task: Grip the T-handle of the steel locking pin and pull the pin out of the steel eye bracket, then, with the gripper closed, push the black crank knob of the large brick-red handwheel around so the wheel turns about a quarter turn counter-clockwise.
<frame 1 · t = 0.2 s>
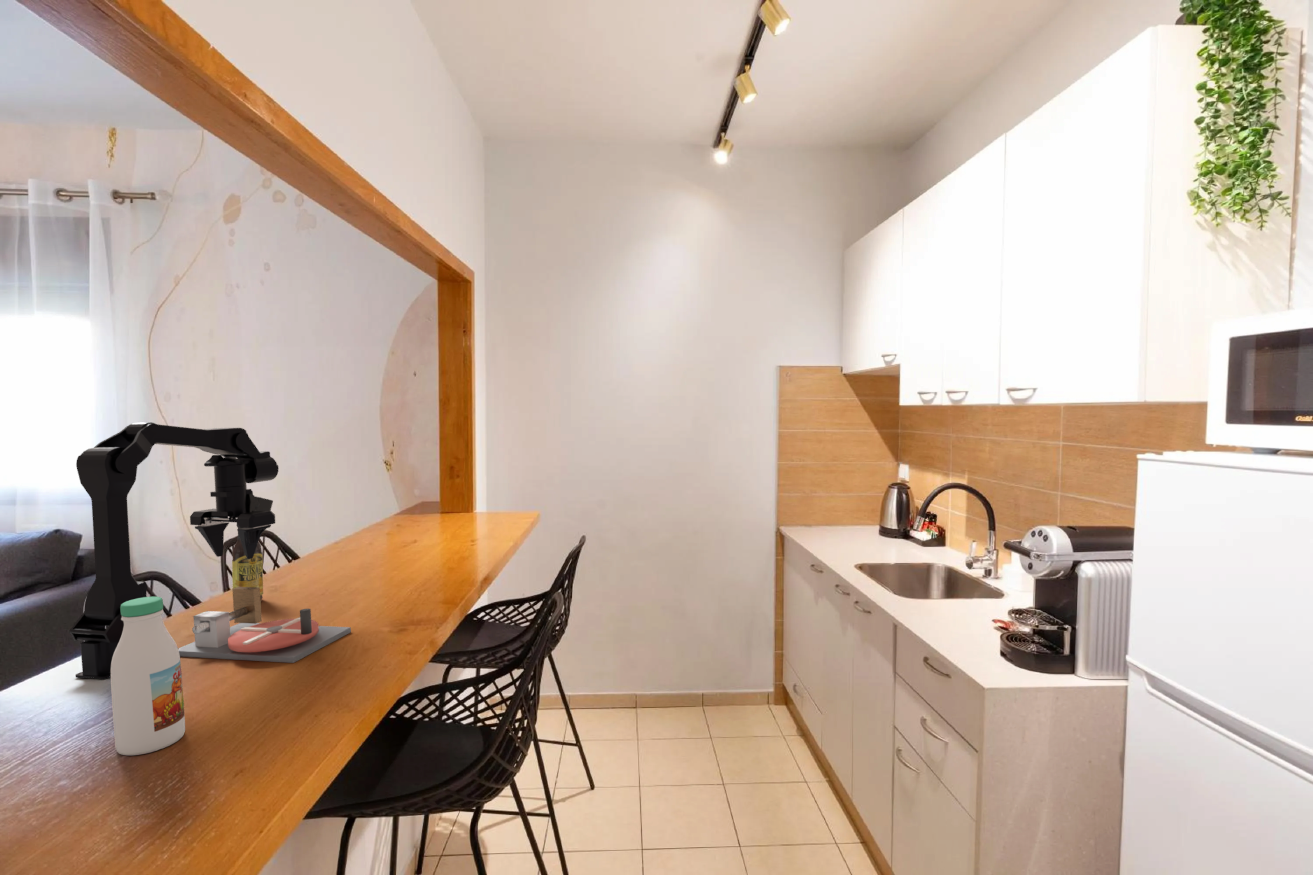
hand: (234, 557, 143), 14 cm above the table, tool pointing down, fingers open, 9 cm apart
handwheel: (274, 623, 126), point 5 cm above the table, hinge at 0.0°
sauce bottle: (249, 603, 158), on the table
mounting plate: (265, 643, 129), on the table
locking pin: (224, 613, 129), point 6 cm above the table, slide at 0.0 cm
milk bottle: (151, 743, 91), on the table
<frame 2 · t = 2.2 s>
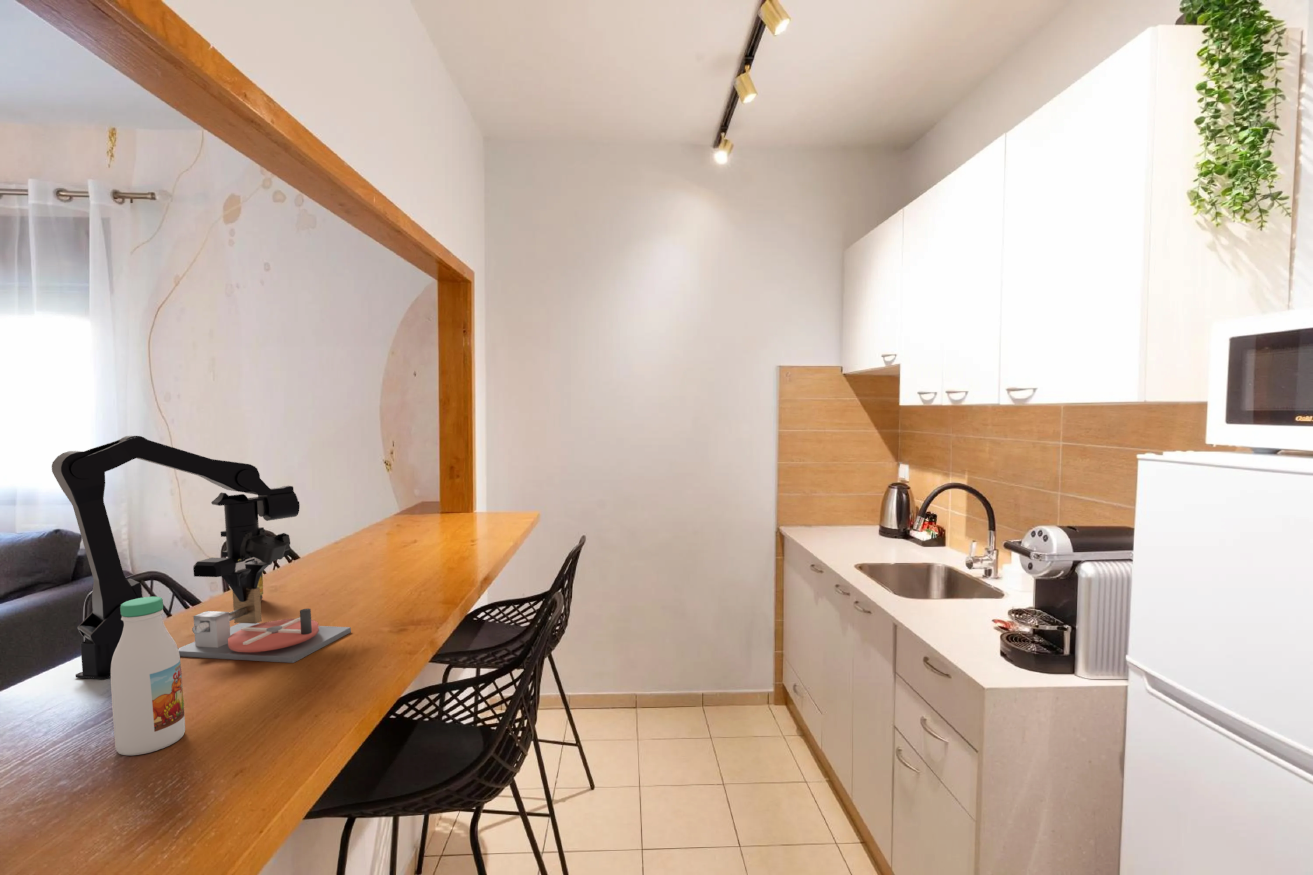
hand: (246, 600, 135), 7 cm above the table, tool pointing down, fingers closed on locking pin, 2 cm apart
locking pin: (224, 613, 129), point 6 cm above the table, slide at 0.0 cm, touching gripper
everything else where it was.
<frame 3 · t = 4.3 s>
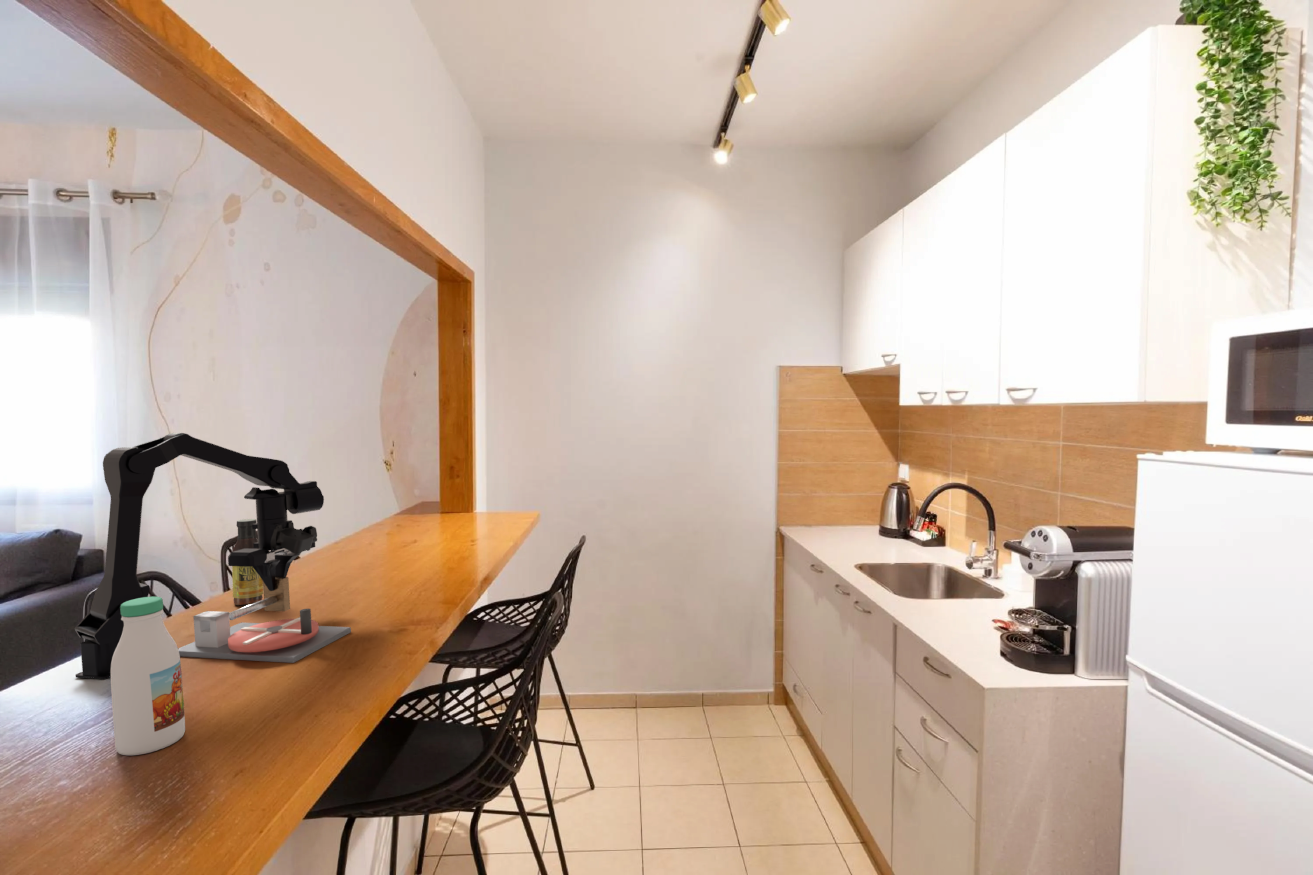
hand: (276, 589, 143), 7 cm above the table, tool pointing down, fingers closed
locking pin: (256, 601, 137), point 6 cm above the table, slide at 7.9 cm
everything else where it was.
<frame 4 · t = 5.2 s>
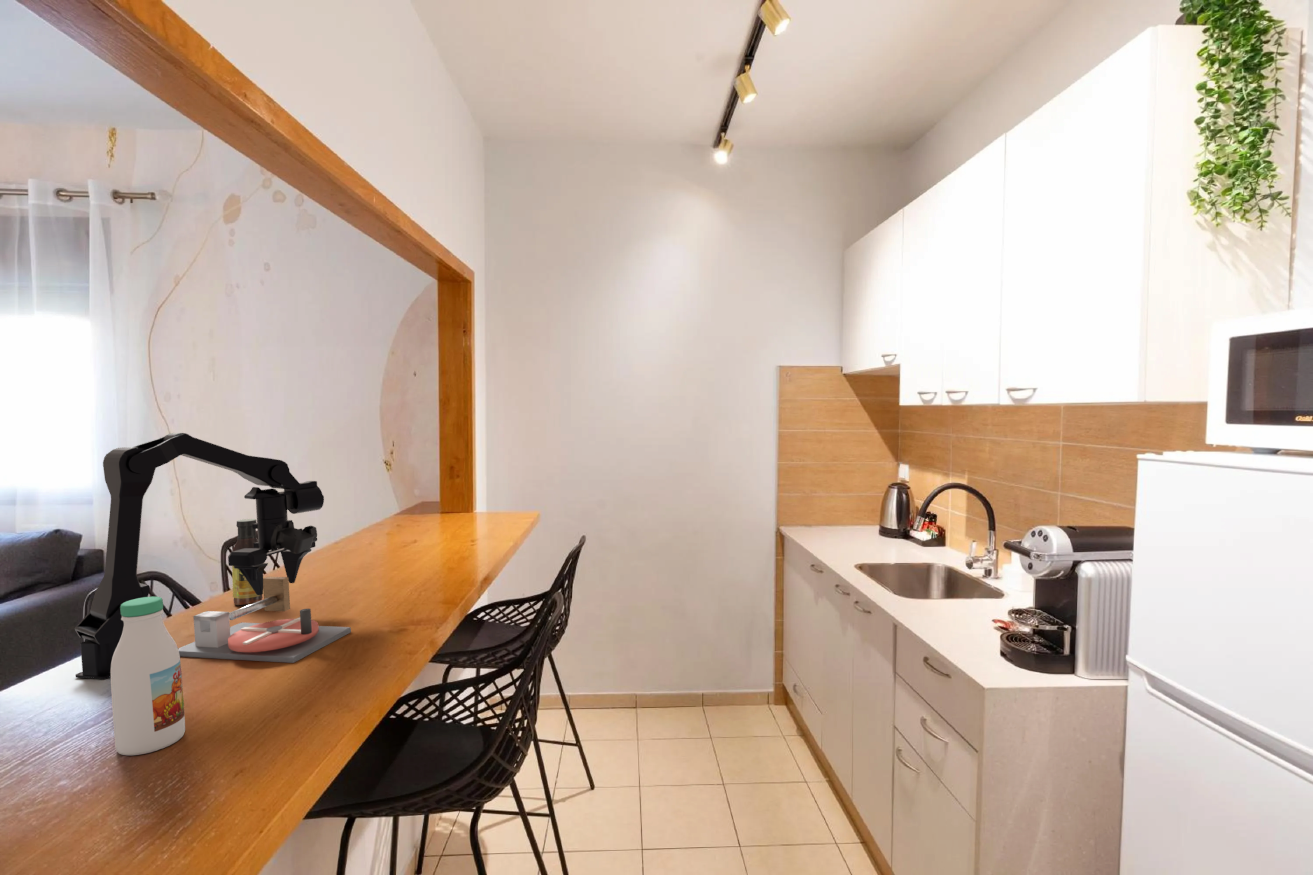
hand: (276, 588, 143), 7 cm above the table, tool pointing down, fingers open, 9 cm apart
nothing on the table moved.
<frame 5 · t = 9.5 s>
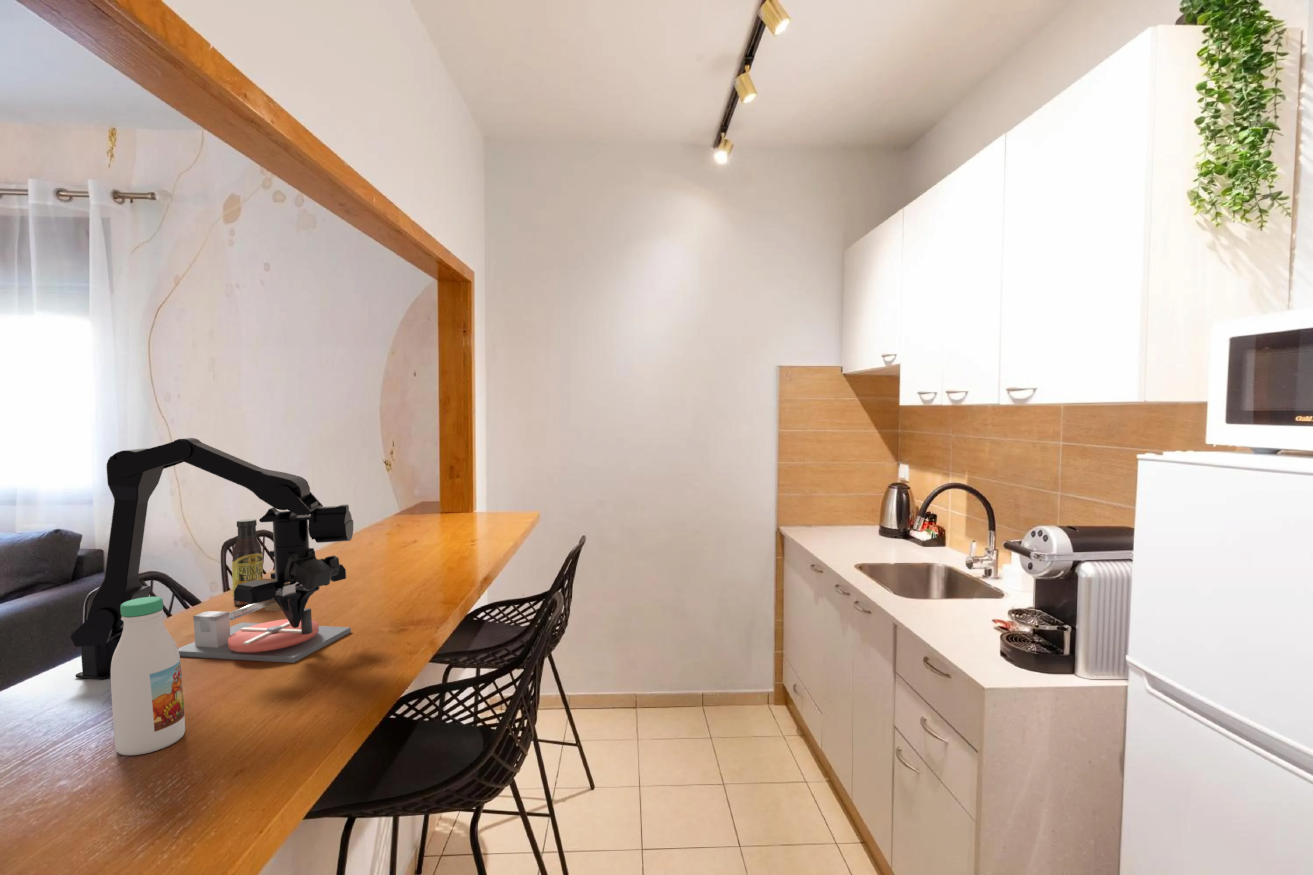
hand: (295, 627, 123), 5 cm above the table, tool pointing down, fingers closed
handwheel: (274, 623, 126), point 5 cm above the table, hinge at 1.2°, touching gripper
everything else where it was.
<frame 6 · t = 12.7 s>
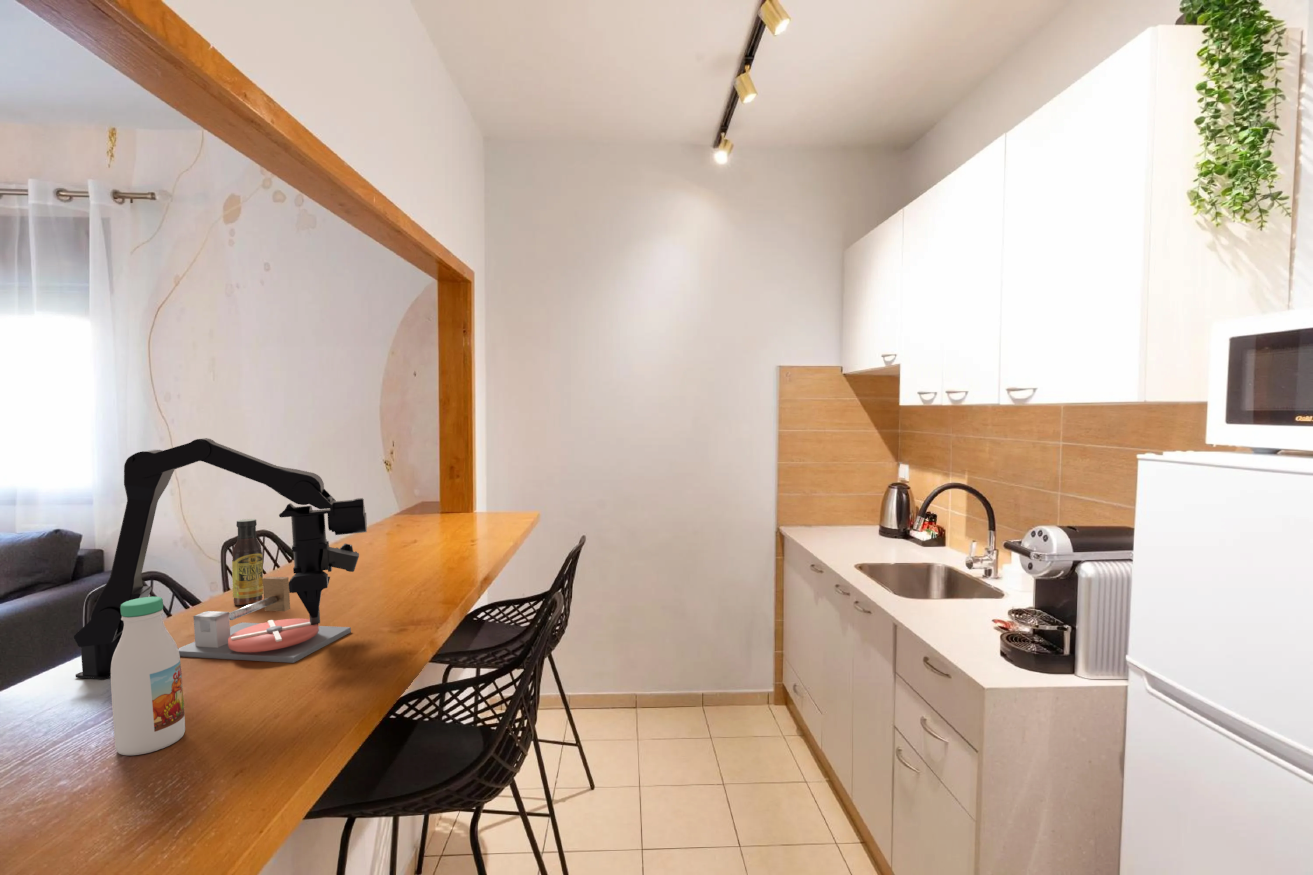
hand: (314, 617, 128), 5 cm above the table, tool pointing down, fingers closed
handwheel: (275, 622, 126), point 5 cm above the table, hinge at 47.3°, touching gripper
everything else where it was.
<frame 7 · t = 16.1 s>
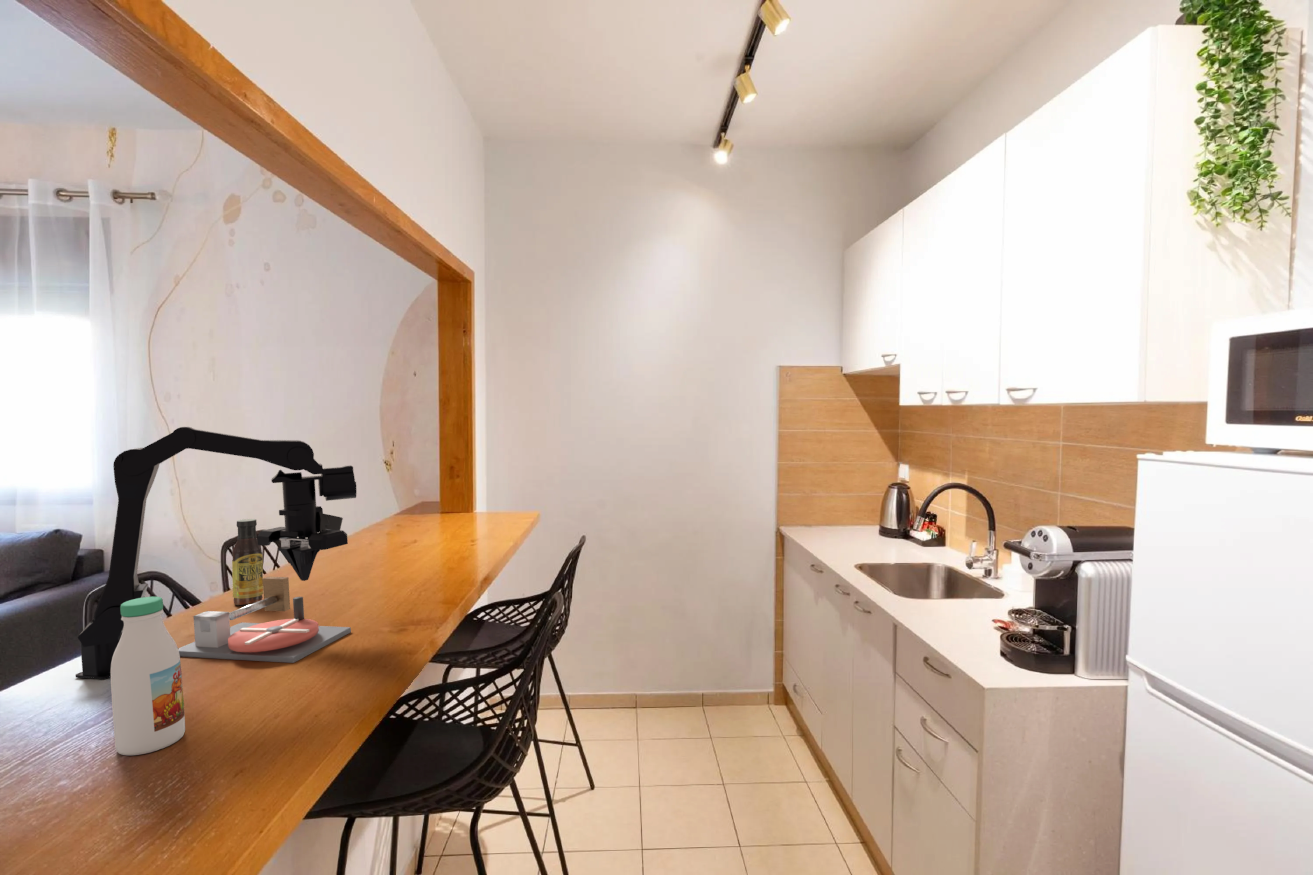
hand: (304, 580, 132), 11 cm above the table, tool pointing down, fingers closed
handwheel: (274, 622, 126), point 5 cm above the table, hinge at 93.2°
everything else where it was.
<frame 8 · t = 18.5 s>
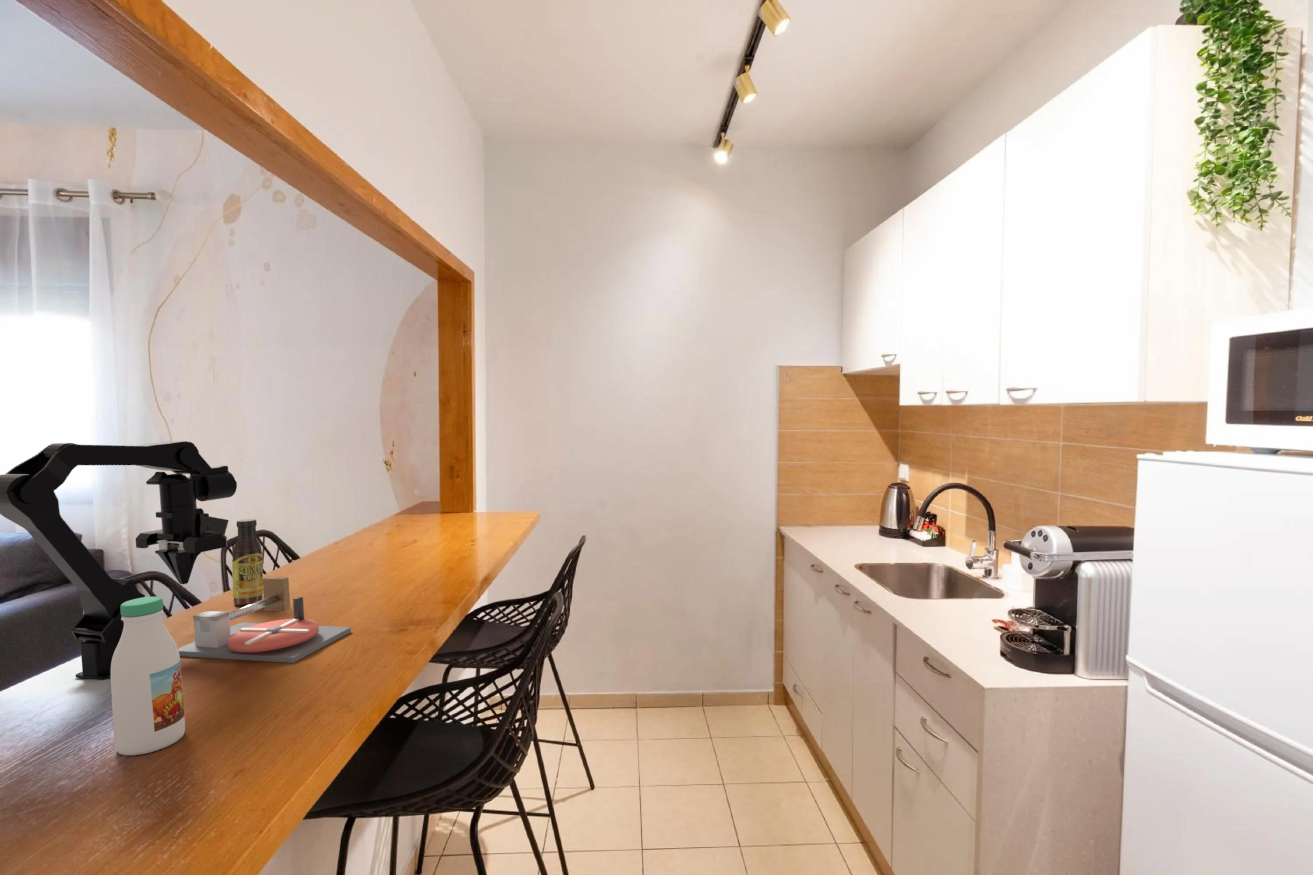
hand: (184, 583, 130), 12 cm above the table, tool pointing down, fingers closed
nothing on the table moved.
at the end: locking pin slide at 7.9 cm; handwheel at +93° (first picture: +0°) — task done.
